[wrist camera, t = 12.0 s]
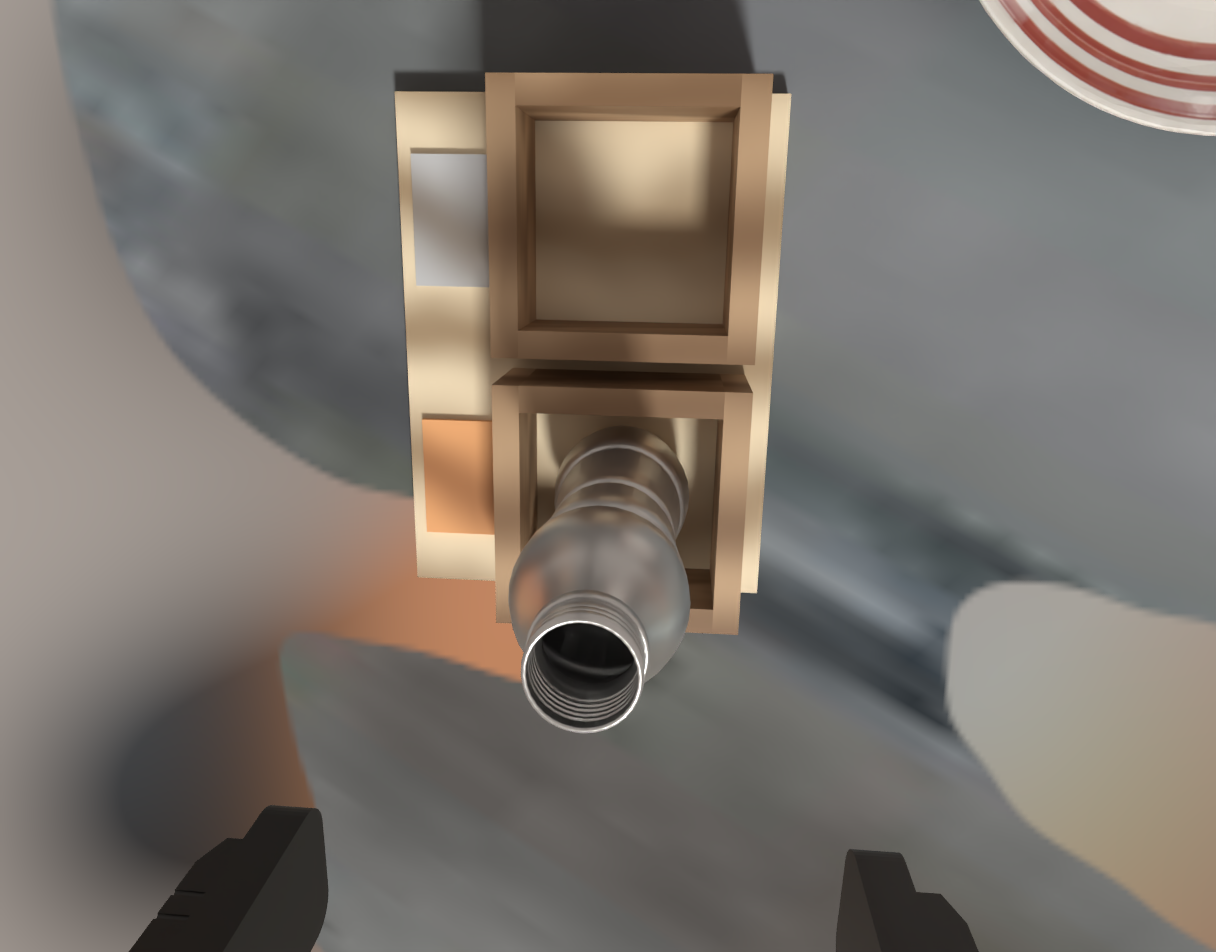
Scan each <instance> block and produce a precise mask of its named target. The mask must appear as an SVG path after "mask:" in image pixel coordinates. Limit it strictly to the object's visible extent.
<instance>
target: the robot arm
mask: <svg viewBox="0 0 1216 952" xmlns="http://www.w3.org/2000/svg"><path fill="white" fill-rule="evenodd" d="M327 903H328V879H327V868H326V856H325V845H324V833H323V822H322V816H321V813H320V811H319V810H318V809H316V808H302V807H289V806H275V805H270V806H268V807H266V808H265V809H264V810H263V811H262V813H261V814H260V815H259V817H258V818H257V820H256V821H255V822H254V824H253V825H252V827H251V828H250V830H249V831H248V833H247V834H246V835H245V837H244V838H243V839H233V838H227V839H225V840H224V841H223V842H221V843H220V844H219V845H217V846H216V847H215V848H213V849H212V850H211V851H209V852H208V853H207V854H205V855H204V856H203V857H201V858H200V859H199V860H197V861H196V862H195V864H194V865H193V866H192V868H191V869H190V870H189V872H188V873H187V874H186V876H185V877H184V878H183V880H182V881H181V882H180V884H179V885H178V887H177V888H176V889H175V893H174V895H171V896H170V897H169V899H168V900H167V901H166V903H165V904H164V905H163V907H162V908H161V909H160V911H159V912H158V916H157V918H156V919H153V920H152V921H151V923H150V924H149V925H148V927H147V928H146V929H145V931H144V932H143V933H142V935H141V936H140V937H139V939H138V941H137V942H136V943H135V944H134V946H133V947H132V948H131V950H130V951H129V952H311V950H312V948H313V946H314V944H315V942H316V940H317V938H318V936H319V933H320V931H321V928H322V925H323V922H324V918H325V914H326V909H327ZM836 952H978V949H977V947H976V944H975V942H974V939H973V937H972V934H971V932H970V930H969V927H968V925H967V923H966V922H965V921H964V920H963V918H962V917H961V916H960V915H959V914H958V913H957V912H956V911H955V909H954V908H953V907H952V906H951V905H950V904H949V903H948V902H947V901H946V899H945V898H944V897H943V896H942V895H941V894H934V893H921V892H916V890H915V888H914V885H913V882H912V879H911V876H910V873H909V871H908V868H907V865H906V862H905V860H904V857H903V856H902V854H901V853H895V852H881V851H868V850H854V849H850V850H849V851H848V852H847V855H846V860H845V868H844V876H843V884H842V891H841V899H840V907H839V915H838V923H837V932H836Z"/></svg>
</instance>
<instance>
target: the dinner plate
mask: <svg viewBox="0 0 1216 952" xmlns="http://www.w3.org/2000/svg"><path fill="white" fill-rule="evenodd" d="M979 1H980V3H981V4H982V6H983V8H984V9H985V11H986V12H987V14H988V15H989V16H990V18H991V19H992V20H993V22H994V23H995V24H996V25H997V27H998V28H999V29H1000V31H1001V32H1002V33H1003V35H1004V36H1005V37H1006V38H1007V39H1008V40H1009V41H1010V43H1011V44H1012V45H1013V46H1014V47H1015V48H1016V49H1017V50H1018V51H1019V52H1020V53H1021V54H1022V56H1023V57H1025V58H1026V59H1027V60H1028V61H1029V62H1030V63H1031V64H1032V65H1033V66H1035V67H1036V68H1037V69H1038V70H1039V71H1041V72H1042V73H1043V74H1045V75H1046V76H1047V77H1048V78H1050V79H1051V80H1052V81H1053V82H1055V83H1056V84H1057V85H1059V86H1060V87H1062V88H1063V89H1065V90H1066V91H1068V92H1069V93H1071V94H1072V95H1074V96H1076V97H1078V98H1079V99H1081V100H1083V101H1085V102H1086V103H1088V104H1090V105H1092V106H1094V107H1096V108H1098V109H1100V110H1103V111H1105V112H1108V113H1110V114H1112V115H1115V116H1117V117H1119V118H1122V119H1126V120H1129V121H1132V122H1135V123H1138V124H1141V125H1144V126H1149V127H1153V128H1157V129H1161V130H1166V131H1172V132H1178V133H1187V134H1195V135H1204V136H1216V0H979Z"/></svg>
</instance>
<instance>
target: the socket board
mask: <svg viewBox="0 0 1216 952" xmlns="http://www.w3.org/2000/svg"><path fill="white" fill-rule="evenodd" d="M772 89H773V74H707V73H485V92H405V91H395V106H396V127H397V148H398V169H399V191H400V212H401V233H402V254H403V276H404V297H405V318H406V339H407V361H408V382H409V403H410V424H411V446H412V467H413V488H414V509H415V530H416V552H417V573H418V577H427V578H448V579H470V580H491V581H495V583H496V622H497V623H512V621H511V616H510V610H509V604H508V595H509V582H510V578H511V574H512V570H513V567H514V565H515V563H516V561H517V559H518V557H519V555H520V553H521V551H522V550H523V549H524V547H525V545H526V544H527V543H528V541H529V540H530V539H531V538H532V536H533V535H534V534H535V532H536V531H537V530H538V529H540V528H541V527H542V526H543V525H544V524H545V523H546V522H547V521H548V520H549V519H550V518H551V517H552V515H553V514H554V512H555V506H554V501H555V483H556V479H557V475H558V471H559V469H560V467H561V465H562V463H563V460H564V458H565V457H566V456H567V454H568V453H569V452H570V451H571V449H572V448H573V447H574V446H575V445H576V444H578V443H579V442H580V441H581V440H582V439H584V438H586V437H587V436H589V435H591V434H593V433H594V432H596V431H598V430H601V429H605V428H608V427H612V426H621V425H622V426H633V427H637V428H641V429H644V430H647V431H649V432H650V433H652V434H654V435H656V436H657V437H659V438H660V439H661V440H662V441H664V442H665V443H666V444H667V445H668V446H669V448H670V449H671V450H672V451H673V452H674V454H675V455H676V456H677V458H678V460H679V461H680V463H681V465H682V467H683V469H684V471H685V475H686V478H687V481H688V488H689V503H688V510H687V514H686V517H685V520H684V523H683V526H682V528H681V530H680V532H679V534H678V536H677V538H676V540H675V541H676V547H677V549H678V552H679V554H680V557H681V559H682V562H683V565H684V568H685V571H686V575H687V580H688V585H689V593H690V602H691V604H690V614H689V622H688V625H687V628H686V631H685V632H692V633H711V634H731V635H738V625H739V609H740V593H741V592H745V593H757V583H758V569H759V554H760V540H761V525H762V511H763V496H764V482H765V467H766V453H767V438H768V424H769V409H770V395H771V381H772V366H773V352H774V337H775V323H776V308H777V294H778V279H779V265H780V250H781V236H782V221H783V207H784V192H785V178H786V163H787V149H788V135H789V120H790V106H791V94H772Z"/></svg>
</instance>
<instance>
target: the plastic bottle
mask: <svg viewBox="0 0 1216 952" xmlns="http://www.w3.org/2000/svg"><path fill="white" fill-rule="evenodd" d="M688 503H689V488H688V481H687V478H686V475H685V471H684V469H683V467H682V465H681V463H680V461H679V460H678V458H677V456H676V455H675V454H674V452H673V451H672V450H671V449H670V448H669V446H668V445H667V444H666V443H665V442H664V441H662V440H661V439H660V438H659V437H657V436H656V435H654V434H652V433H650V432H649V431H647V430H644V429H641V428H637V427H633V426H622V425H621V426H612V427H608V428H605V429H601V430H598V431H596V432H594V433H593V434H591V435H589V436H587V437H586V438H584V439H582V440H581V441H580V442H579V443H578V444H576V445H575V446H574V447H573V448H572V449H571V451H570V452H569V453H568V454H567V456H566V457H565V458H564V460H563V463H562V465H561V467H560V469H559V471H558V475H557V479H556V483H555V501H554V506H555V512H554V514H553V515H552V517H551V518H550V519H549V520H548V521H547V522H546V523H545V524H544V525H543V526H542V527H541V528H540V529H538V530H537V531H536V532H535V534H534V535H533V536H532V538H531V539H530V540H529V541H528V543H527V544H526V545H525V547H524V549H523V550H522V551H521V553H520V555H519V557H518V559H517V561H516V563H515V565H514V567H513V570H512V574H511V578H510V582H509V595H508V604H509V610H510V616H511V621H512V626H513V630H514V633H515V636H516V638H517V641H518V643H519V646H520V647H521V649H522V650H523V652H524V654H523V658H522V662H521V679H522V685H523V689H524V691H525V694H526V697H527V699H528V700H529V702H530V704H531V705H532V707H533V708H534V709H535V710H536V711H537V713H538V714H539V715H540V716H541V717H543V718H544V719H545V720H547V721H548V722H549V723H551V724H553V725H555V726H557V727H559V728H561V729H564V730H567V731H571V732H577V733H595V732H599V731H603V730H607V729H609V728H611V727H613V726H615V725H617V724H618V723H620V722H621V721H622V720H624V719H625V718H626V717H627V716H628V715H629V714H630V713H631V711H632V710H633V709H634V707H635V705H636V704H637V702H638V700H639V698H640V696H641V692H642V689H643V686H644V683H645V682H647V681H648V680H649V679H651V678H652V677H653V676H654V675H656V674H657V673H658V672H659V671H660V670H661V669H662V668H663V667H664V666H665V664H666V663H667V662H668V661H669V660H670V658H671V657H672V656H673V654H674V653H675V651H676V650H677V648H678V646H679V644H680V642H681V641H682V639H683V637H684V634H685V631H686V628H687V625H688V622H689V614H690V604H691V602H690V593H689V585H688V580H687V575H686V571H685V568H684V565H683V562H682V559H681V557H680V554H679V552H678V549H677V547H676V541H675V540H676V538H677V536H678V534H679V532H680V530H681V528H682V526H683V523H684V520H685V517H686V514H687V510H688Z"/></svg>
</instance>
